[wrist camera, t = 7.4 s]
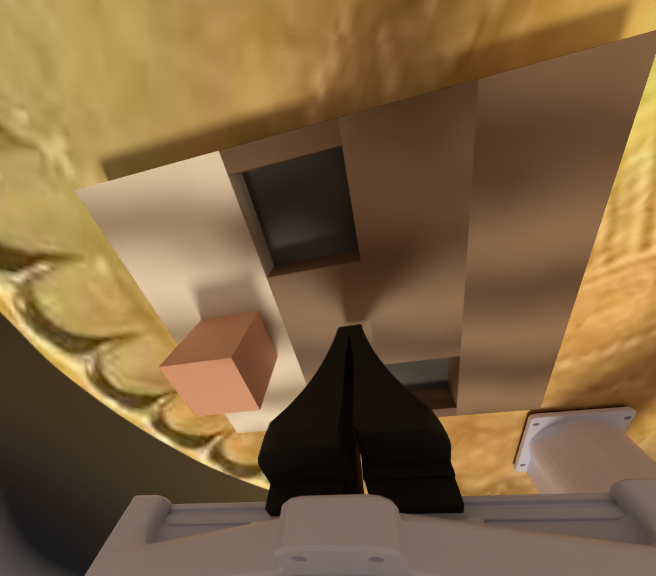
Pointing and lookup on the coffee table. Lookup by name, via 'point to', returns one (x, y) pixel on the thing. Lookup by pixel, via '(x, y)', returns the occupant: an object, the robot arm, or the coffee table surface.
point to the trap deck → (397, 230)
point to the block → (223, 365)
